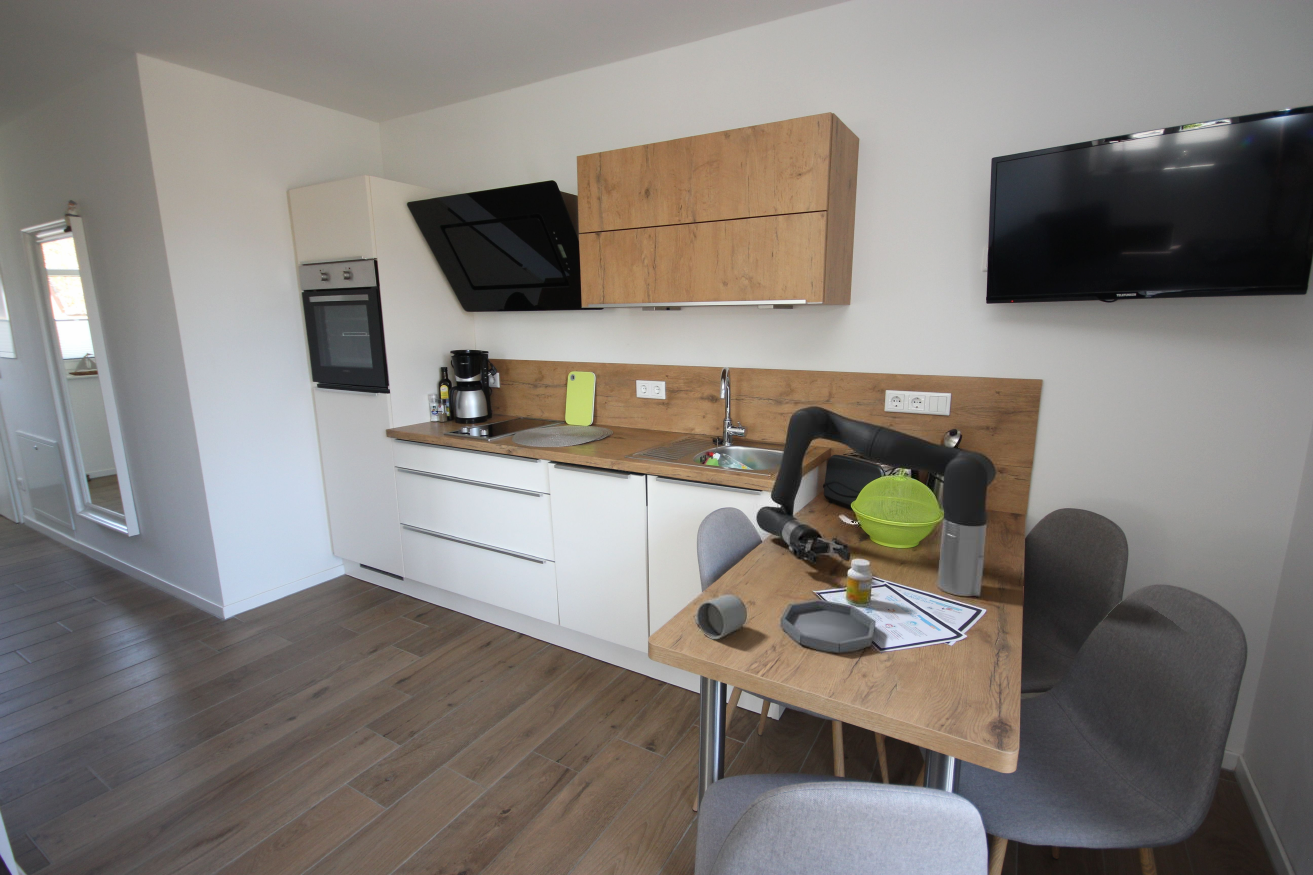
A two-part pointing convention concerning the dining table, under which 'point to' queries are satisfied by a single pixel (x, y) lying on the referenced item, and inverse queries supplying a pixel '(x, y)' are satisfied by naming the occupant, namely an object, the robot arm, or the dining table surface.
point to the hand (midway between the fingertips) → (833, 558)
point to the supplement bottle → (859, 583)
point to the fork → (847, 520)
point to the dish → (828, 626)
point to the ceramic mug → (721, 616)
